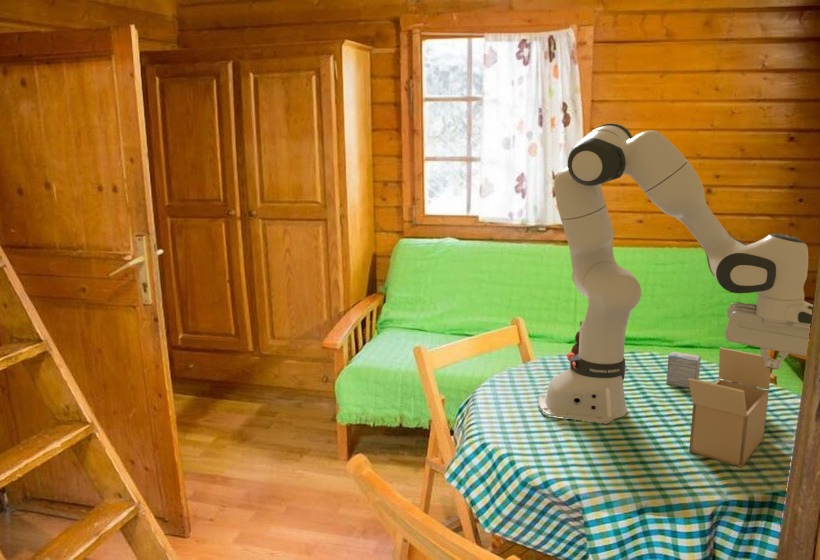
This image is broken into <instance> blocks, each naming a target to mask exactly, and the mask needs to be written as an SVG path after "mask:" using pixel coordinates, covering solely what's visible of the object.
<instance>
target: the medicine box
mask: <svg viewBox="0 0 820 560" xmlns="http://www.w3.org/2000/svg"><path fill="white" fill-rule="evenodd" d="M700 369H701V356H700V355H697V354H691V353H685V352H678V351H670V354H668V357H667V370H666V371H667V372H666V385H669V386H677V387H682V388H687V389H688V388H689V389H690V385H689V380H688V379H689V378H692V379H697V380H700V372H701V371H700Z"/></svg>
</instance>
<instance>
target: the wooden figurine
mask: <svg viewBox="0 0 820 560" xmlns="http://www.w3.org/2000/svg"><path fill="white" fill-rule="evenodd" d="M579 322H580V323H579V327H580V326H581V324H582V323H583V322H584V320H580V321H579ZM579 337H580V330H578V331H577V332H576V334H575V336H574V338H575V339H574V340H575V343H574V345H572V347H571V350H570V352H572V353H574V355H577V354H578V353H579Z"/></svg>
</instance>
